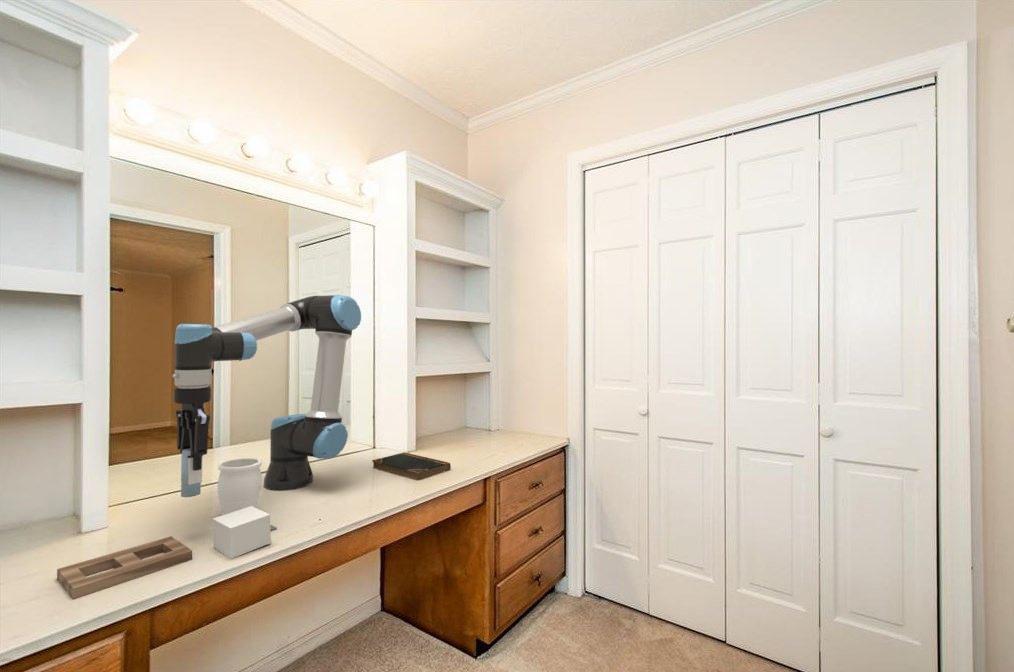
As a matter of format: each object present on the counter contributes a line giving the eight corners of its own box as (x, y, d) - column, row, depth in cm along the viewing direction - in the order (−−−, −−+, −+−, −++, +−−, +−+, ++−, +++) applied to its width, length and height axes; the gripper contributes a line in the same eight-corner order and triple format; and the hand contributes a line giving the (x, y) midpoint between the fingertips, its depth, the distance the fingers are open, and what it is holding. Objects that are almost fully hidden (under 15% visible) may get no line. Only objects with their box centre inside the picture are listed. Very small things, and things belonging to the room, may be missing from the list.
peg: (178, 494, 115) (179, 449, 115) (196, 490, 118) (197, 447, 118) (184, 498, 112) (185, 452, 112) (203, 494, 115) (204, 449, 116)
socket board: (57, 578, 95) (57, 569, 95) (170, 544, 112) (171, 536, 112) (73, 599, 88) (73, 588, 88) (192, 559, 105) (192, 550, 105)
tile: (241, 530, 120) (241, 526, 120) (265, 523, 125) (265, 519, 125) (253, 537, 117) (253, 532, 117) (276, 529, 122) (276, 525, 122)
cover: (213, 547, 111) (212, 518, 110) (252, 533, 118) (251, 505, 118) (231, 558, 106) (230, 528, 105) (270, 542, 113) (270, 514, 113)
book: (371, 469, 179) (417, 482, 164) (371, 460, 179) (417, 472, 164) (405, 460, 193) (450, 471, 179) (405, 451, 193) (450, 461, 179)
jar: (251, 506, 137) (252, 455, 137) (267, 516, 130) (268, 462, 130) (210, 517, 129) (212, 463, 129) (225, 527, 122) (226, 470, 122)
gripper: (161, 384, 117) (160, 478, 117) (190, 390, 107) (188, 492, 107) (195, 382, 123) (194, 471, 123) (225, 388, 113) (223, 484, 113)
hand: (191, 480), depth 115 cm, fingers closed on peg, 4 cm apart
